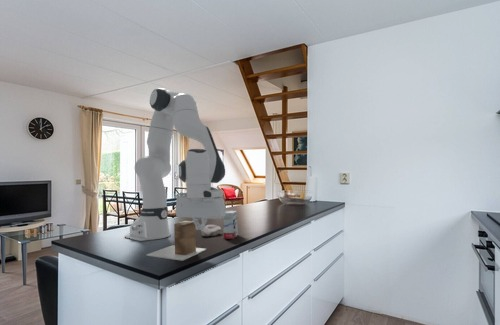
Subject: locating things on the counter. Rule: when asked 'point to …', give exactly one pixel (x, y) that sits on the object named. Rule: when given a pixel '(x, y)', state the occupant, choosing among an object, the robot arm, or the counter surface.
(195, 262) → the counter surface
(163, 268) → the counter surface
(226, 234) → the ink box
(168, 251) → the mat
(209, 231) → the fossil
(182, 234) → the walnut block
